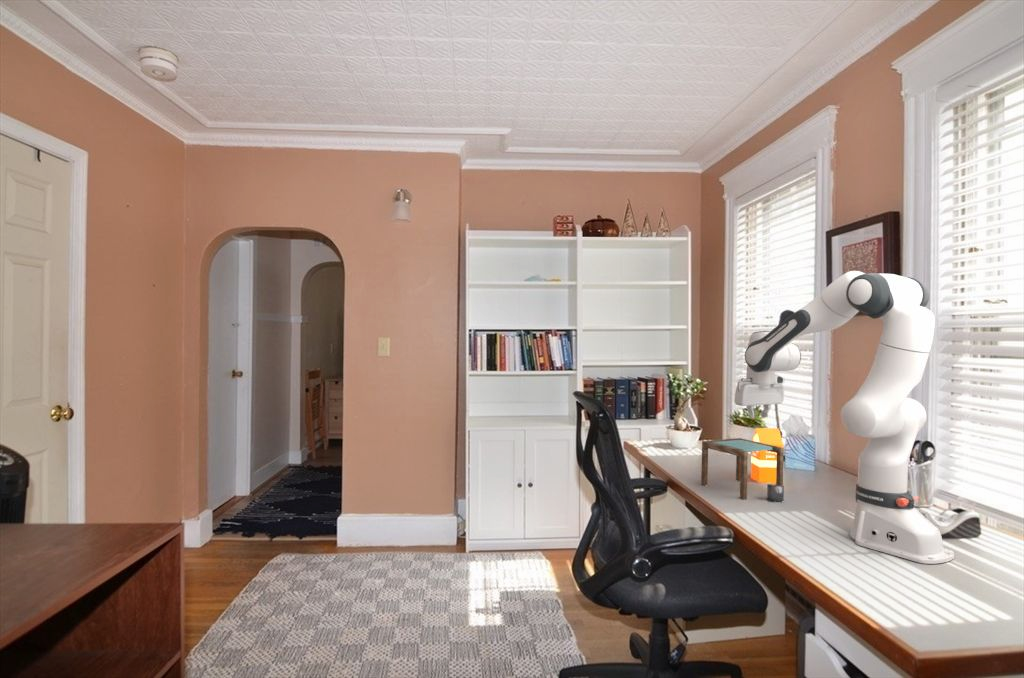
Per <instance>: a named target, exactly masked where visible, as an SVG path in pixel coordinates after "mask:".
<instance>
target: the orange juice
mask: <svg viewBox="0 0 1024 678" xmlns="http://www.w3.org/2000/svg"><path fill="white" fill-rule="evenodd" d="M751 441H755V442H760V443H764V444H769V445H773V446H778V447H783V448H784V443H783V439H782V436H781V432H780V428H774V427H773V428H772V427H771V428H769V427H768V428H767V427H763V428H762V427H756V428H755V430H754V433H753V437H752V439H751ZM750 453H751V454H750V463H751V465H750V478H751V479H752V478H753V479H752V480H753V481H755V480H756V481H755V482H757V481H758V482H762V483H761V484H768V483H767V482H772V483H774V484H776V465H777V453H775V452H771V451H766V450H765V451H755V452H750ZM758 482H757V483H758ZM763 482H764V483H763ZM765 482H766V483H765Z"/></svg>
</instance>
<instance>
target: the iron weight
mask: <svg viewBox="0 0 1024 678" xmlns="http://www.w3.org/2000/svg"><path fill="white" fill-rule="evenodd" d="M766 485H767V488H766V500H767V499H768V500H767V501H769V500H770V501H769V502H772V501H776V502H775V503H779V502H780V503H783V502H782V501H784V500H785V499H784V498H785V494H784V493H785V491H784V489H785V486H784V484H783V485H780V484H776V483H766Z"/></svg>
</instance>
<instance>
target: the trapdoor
mask: <svg viewBox="0 0 1024 678" xmlns="http://www.w3.org/2000/svg"><path fill="white" fill-rule="evenodd" d="M712 443H715V444H719V445H723V446H728V447H732V448H736V449H740V450H744V451H748V453H751V452H755V451H765V450H772V447H771V446H766V445H762V444H757V443H753V442H748V441H744V440H731V441H720V442H712Z"/></svg>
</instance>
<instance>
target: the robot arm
mask: <svg viewBox="0 0 1024 678" xmlns="http://www.w3.org/2000/svg"><path fill="white" fill-rule="evenodd" d="M929 300H930V291H929V288H928V287H927V285H926V284H925V283H924V282H923V281H920V280H918V279H916V278H914V277H909V276H908V277H907V276H903V275H898V274H894V273H883V272H882V273H877V272H866V273H865V272H863V271H859V270H851V271H847V272H845V273H844V274H842V275H841V276H839V277H837V278H836V279H835V280H833V281H832V282H831V283H829V284H828V286H826V287H825V288H824V289H823V290H822V291H821V292H820V293H819V294H818V295H816V297H815V298H813V299H812V300H811V301H810V302H808V303H807V304H806V305H804V306H803V307H801V308H800V309H798V310H797V311H795V312H793V313H792V314H790V315H789V316H788V317H786V318H785V319H783V321H781V322H780V323H779V324H778V325H777V326H775V327H774V328H773V329H772V330H769V331H768V330H762V331H761V330H759V331H755V332H752V333H751V334H750V336H749V338H748V343H747V348H746V350H745V353H744V359H745V360H744V361H745V363H746V365H747V366H746V377H745V378H744V377H743V378H740V379H739V380H738V381H737V384H736V388H735V392H734V400H733V401H734V403H735V405H737V406H742V407H746V411H747V413H748V419H749V418H750V419H756V416H757V413H756V412H755V411H754V409H755V406H762V407H763V410H762V411H761V412H760V417H761V418H764V419H765V418H768V417H769V412H770V411H771V408H772V405H782V403H783V402H784V398H785V386H784V384H785V377H784V376H782V375H779V374H777V373H775V372H788V371H793V370H795V369H797V368H798V367H799V366H800V364H801V360H802V353H801V350H800V348H799V347H798V346H797V344H795V343H791V342H792V341H794V340H795V339H796V340H797V338H800V337H802V336H805V335H809V334H815V333H822V332H828V331H829V332H831V331H832V330H836V329H839V328H841V327H842V326H844V325H845V324H847V323H848V322H849V321H850V320H852V319H853V317H854V316H856V315H857V314H858V313H859V312H860V313H862V314H864V315H866V316H868V317H869V318H871V319H873V320H875V319H881V321H882V325H883V327H882V333H881V335H880V339H879V341H878V346H877V349H876V352H875V355H874V359H873V362H872V365H871V368H870V370H869V373H868V374H867V377H866V378H865V379H864V381H863V383H862V384H861V386H860V388H858V391H857V392H856V393H855V395H854V396H853V397H852V398H851V399H850V400H848V401H847V402H846V403H845V404H844V405H843V406H842V408H841V411H840V420H841V423H842V425H843V427H844V429H846V430H847V432H848V433H850V434H853V435H854V436H858V437H862V438H868V441H867V443H866V445H865V447H864V449H863V450H862V451H861V452H860V453H859V456H858V461H857V463H858V465H857V483H856V484H855V502H856V503H855V504H856V507H855V512H854V513H855V514H854V519H853V523H852V527H851V529H850V532H849V536H850V538H852V539H853V540H854V539H855V540H854V542H855V544H856V545H858V546H861V547H863V548H869V549H871V550H874V551H878V552H882V553H885V554H887V555H892V556H894V557H899V558H902V559H905V560H909V561H913V562H916V563H919V564H924V565H926V564H929V565H934V564H942V563H946V562H950V561H952V560H953V559H954V558H955V554H954V551H953V550H951V549H948V548H946V547H944V544H943V538H942V534H941V531H940V529H939V528H938V527H937V526H935V524H934V523H932V522H931V521H930V520H929V519H927V518H926V516H924V515H923V514H922V513H921V512H920V511H919V510H917V508H916V507H915V502H919V500H918V499H919V496H915V497H913V496H912V495H911V494H910V492H909V490H908V483H909V482H908V480H909V479H908V478H909V462H910V457H911V454H912V452H913V451H912V450H913V448H914V444H915V441H916V439H917V436H918V433H919V432H920V431H921V429H922V428H923V427H924V426H925V424H926V421H927V419H928V418H927V417H928V416H927V412H926V409H925V407H924V405H923V404H921V402H919V401H918V400H916V399H914V398H911V397H908V396H909V395H910V393H911V392H912V391H913V389H914V388H916V386H918V385H919V384H920V383H921V381H922V379H923V375H924V373H925V370H926V366H927V362H928V359H929V357H930V353H931V349H932V346H933V342H934V335H935V328H936V327H935V326H936V325H935V324H936V317H935V315H934V312H932V310H930V309H928V308H927V305H928V303H929Z"/></svg>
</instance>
